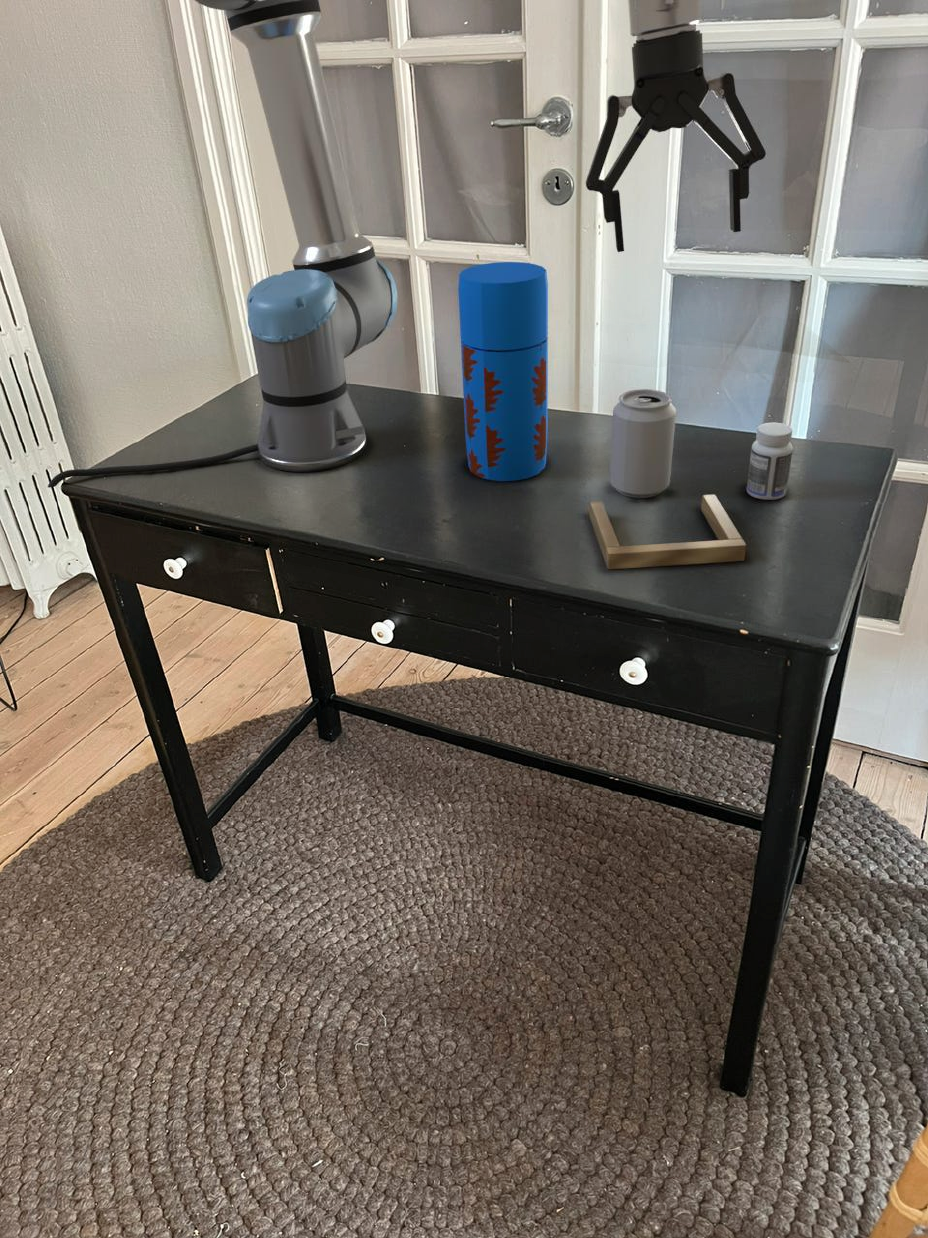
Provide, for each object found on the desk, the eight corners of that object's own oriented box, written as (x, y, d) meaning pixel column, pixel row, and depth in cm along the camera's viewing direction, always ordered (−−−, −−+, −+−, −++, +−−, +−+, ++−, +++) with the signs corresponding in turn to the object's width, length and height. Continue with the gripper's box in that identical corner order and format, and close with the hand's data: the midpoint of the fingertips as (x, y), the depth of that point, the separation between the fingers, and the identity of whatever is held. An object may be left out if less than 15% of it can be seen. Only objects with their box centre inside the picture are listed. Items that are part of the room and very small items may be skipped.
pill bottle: (781, 484, 115) (791, 420, 111) (789, 501, 111) (799, 435, 107) (743, 484, 116) (751, 420, 111) (748, 500, 112) (757, 436, 107)
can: (680, 484, 116) (689, 393, 110) (648, 506, 112) (655, 412, 105) (630, 470, 121) (636, 381, 114) (597, 490, 116) (601, 399, 110)
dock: (607, 569, 100) (608, 553, 99) (589, 516, 110) (589, 501, 109) (744, 561, 100) (746, 545, 99) (713, 509, 111) (714, 494, 110)
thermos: (528, 443, 130) (526, 257, 116) (560, 472, 121) (563, 275, 107) (456, 457, 127) (445, 268, 113) (483, 487, 118) (476, 288, 104)
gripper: (551, 57, 98) (574, 263, 109) (793, 7, 94) (792, 226, 105) (551, 57, 105) (572, 251, 115) (777, 10, 101) (778, 216, 111)
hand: (677, 240), depth 110 cm, fingers open, 13 cm apart
